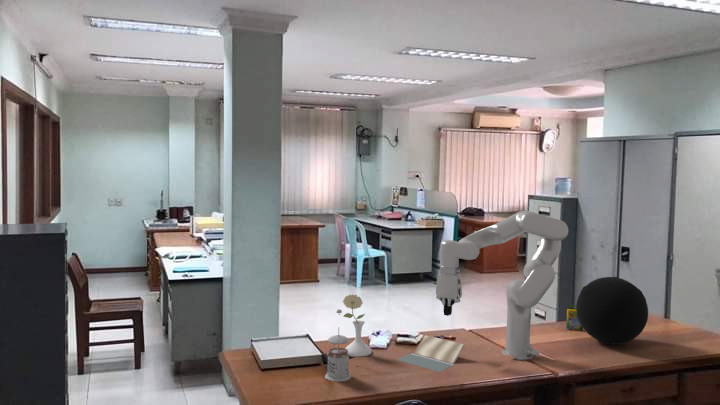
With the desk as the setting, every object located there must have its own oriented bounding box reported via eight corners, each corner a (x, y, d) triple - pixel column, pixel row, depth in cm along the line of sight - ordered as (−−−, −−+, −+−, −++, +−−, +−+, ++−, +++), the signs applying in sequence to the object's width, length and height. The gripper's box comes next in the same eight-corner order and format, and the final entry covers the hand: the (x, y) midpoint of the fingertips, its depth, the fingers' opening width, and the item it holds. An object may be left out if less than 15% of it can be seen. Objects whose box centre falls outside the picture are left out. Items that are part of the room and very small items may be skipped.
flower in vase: (376, 353, 238) (377, 293, 237) (364, 361, 228) (366, 299, 227) (347, 348, 244) (349, 290, 242) (335, 356, 234) (336, 295, 232)
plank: (464, 346, 230) (463, 344, 229) (453, 365, 224) (452, 363, 223) (426, 337, 241) (425, 335, 241) (415, 355, 235) (414, 353, 235)
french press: (330, 383, 205) (331, 313, 203) (319, 372, 215) (320, 306, 214) (355, 379, 209) (356, 311, 207) (343, 369, 219) (344, 304, 218)
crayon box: (567, 329, 280) (568, 306, 279) (566, 328, 283) (567, 304, 282) (582, 330, 279) (583, 307, 278) (581, 329, 281) (582, 305, 281)
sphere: (659, 354, 244) (663, 284, 242) (589, 353, 244) (592, 283, 242) (628, 334, 273) (631, 272, 271) (565, 333, 274) (568, 270, 272)
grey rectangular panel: (454, 367, 223) (454, 364, 223) (439, 375, 214) (439, 371, 214) (411, 356, 235) (411, 353, 235) (396, 363, 227) (396, 359, 227)
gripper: (469, 272, 234) (468, 316, 235) (438, 267, 243) (436, 310, 244) (460, 274, 228) (459, 320, 229) (428, 269, 237) (427, 313, 238)
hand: (447, 314), depth 237 cm, fingers closed
